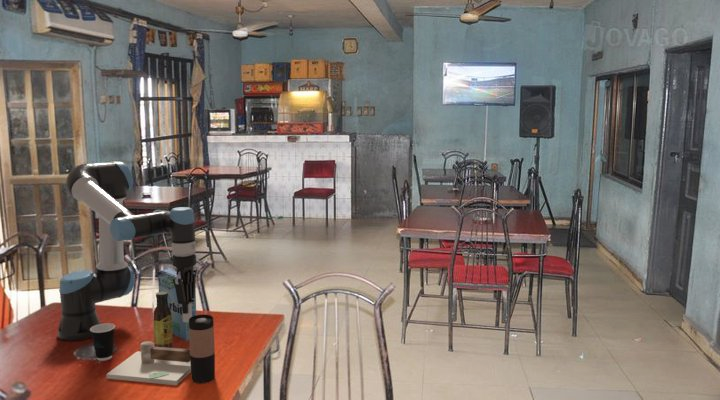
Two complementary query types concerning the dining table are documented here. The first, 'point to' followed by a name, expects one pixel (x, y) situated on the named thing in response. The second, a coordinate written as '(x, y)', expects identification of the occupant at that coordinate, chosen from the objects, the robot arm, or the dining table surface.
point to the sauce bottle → (162, 322)
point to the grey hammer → (163, 353)
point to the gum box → (175, 303)
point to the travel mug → (202, 348)
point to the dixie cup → (103, 340)
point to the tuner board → (150, 371)
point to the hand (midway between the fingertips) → (187, 321)
